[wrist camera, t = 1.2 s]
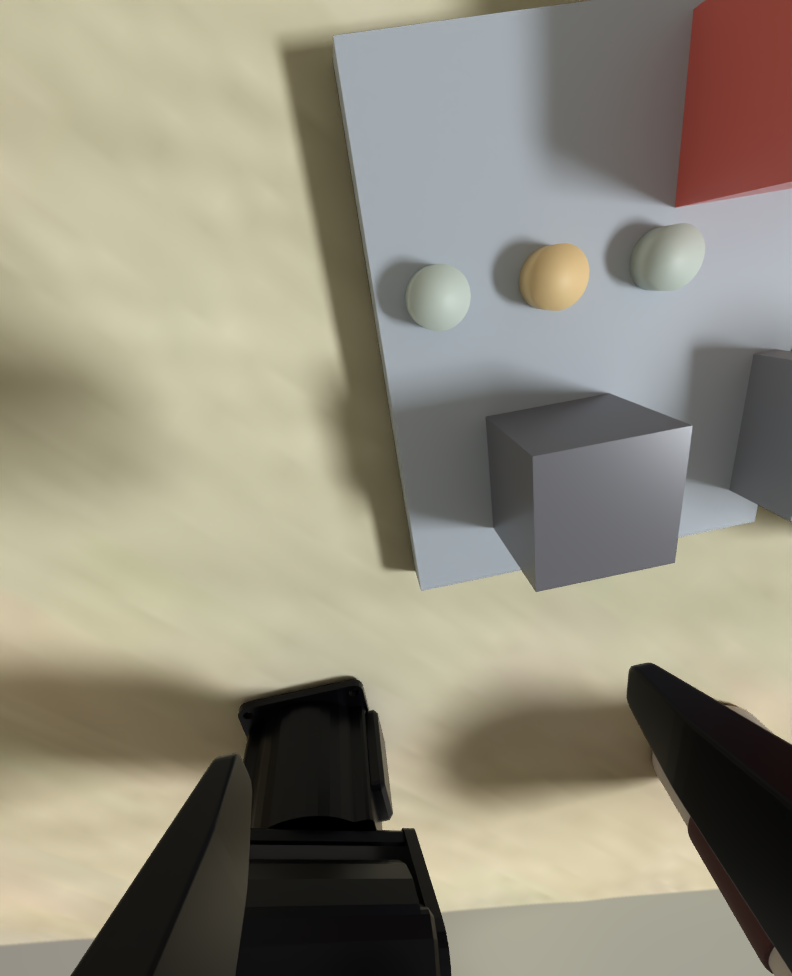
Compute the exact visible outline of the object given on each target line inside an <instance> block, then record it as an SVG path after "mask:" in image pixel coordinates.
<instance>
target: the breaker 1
mask: <svg viewBox="0 0 792 976" xmlns="http://www.w3.org/2000/svg"><path fill="white" fill-rule="evenodd" d="M692 428H693V425H690V424H688V423H685V422H682V421H680V420H677V419H675V418H672V417H670V416H667V415H664V414H662V413H659V412H657V411H654V410H652V409H649V408H646V407H644V406H641V405H639V404H636V403H634V402H631V401H628V400H626V399H623V398H621V397H618V396H615V395H613V394H610V393H608V394H603V395H598V396H592V397H587V398H582V399H576V400H571V401H566V402H560V403H555V404H550V405H544V406H539V407H534V408H528V409H523V410H518V411H512V412H507V413H502V414H496V415H491V416H486V431H487V445H488V459H489V473H490V488H491V502H492V516H493V528H494V530H495V531H496V533H497V534H498V536H499V537H500V539H501V540H502V542H503V543H504V545H505V546H506V548H507V549H508V551H509V552H510V554H511V555H512V557H513V558H514V560H515V561H516V563H517V564H518V566H519V567H520V569H521V570H522V572H523V573H524V575H525V576H526V578H527V579H528V581H529V582H530V584H531V585H532V587H533V588H534V590H535V591H536V592H538V591H543V590H548V589H552V588H557V587H562V586H567V585H571V584H576V583H581V582H586V581H590V580H595V579H600V578H605V577H609V576H614V575H619V574H624V573H628V572H633V571H638V570H643V569H647V568H652V567H657V566H662V565H666V564H671V563H675V557H676V549H677V542H678V534H679V527H680V519H681V511H682V504H683V496H684V489H685V481H686V473H687V466H688V458H689V451H690V443H691V435H692Z"/></svg>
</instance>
